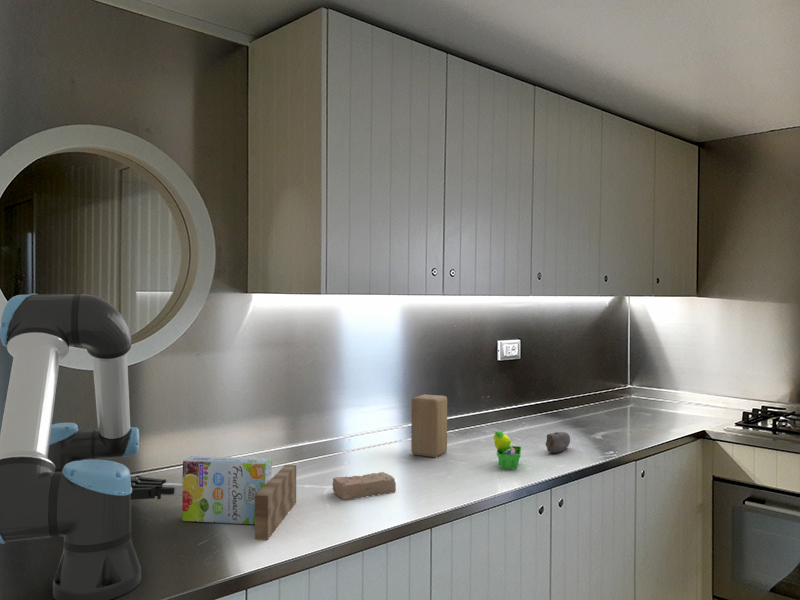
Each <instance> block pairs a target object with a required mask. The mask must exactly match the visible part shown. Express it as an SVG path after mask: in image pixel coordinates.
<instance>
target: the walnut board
mask: <svg viewBox="0 0 800 600" xmlns="http://www.w3.org/2000/svg"><path fill="white" fill-rule="evenodd" d="M295 503H296V504H297V465H295V464H294V465H293V464H292V465H291V464H285V465H284V466H283V467H282V468H280V470H279V471H277V472H276V474H275V475H274V476H272V477H271V480H270V481H269V482H268V483H267V484H266V485H265V486H264V487H263V488H262V489H261V490H260V491H259V492H258V493H257V494H256V495H255V525H254V540H255V539H266V540H265V541H268V540H269V539H270V538H271V537H272V535H273V534H274V532H275V531H276V530H277V529H278V528H279V526H280V525H281V524H282V522H283V521H284V520H285V518H286V517H285V516H287V515H288V514H289V513H290V511H291V510H292V509H293V507H294V506H295V505H296V504H295ZM288 512H289V513H288ZM282 520H283V521H282ZM279 524H280V525H279ZM276 528H277V529H276ZM272 533H273V534H272ZM269 537H270V538H269Z"/></svg>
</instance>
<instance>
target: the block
mask: <svg viewBox="0 0 800 600" xmlns="http://www.w3.org/2000/svg"><path fill="white" fill-rule="evenodd" d="M410 421H411V426H410V428H411V429H410V430H411V435H410V437H411V442H410V443H411V450H410V451H411V452H410V453H411V455H414V456H419V457H420V456H421V457H428V458H438V457H439V456H441V455H443V454H445V453H447V451H448V397H447V396H446V395H437V394H425V393H424V394H421V395H418V396H415V397H412V398H411V420H410Z"/></svg>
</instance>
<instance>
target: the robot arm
mask: <svg viewBox="0 0 800 600" xmlns="http://www.w3.org/2000/svg"><path fill="white" fill-rule="evenodd" d="M0 323H1V324H0V343H1V344H2V346H3V347H5V348H6V349H7V352H8V354H10V356H11V357H13V359H12V365H11V369H10V376H9V381H8V382H9V383H8V387H7V394H6V400H5V404H4V410H3V411H4V412H3V417H2V423H1V426H0V427H1V428H0V544H2V545H5V544H7V543H13V542H14V543H15V542H22V541H23V542H24V541H30V540H39V539H47V538H56V537H58V538H59V537H63V551H62V554H61V557H60V560H59V563H58V566H57V569H56V572H55V574H54V578H53V581H52V596H53V598H54V599H55V600H113V599H116V598H118V597H121V596H123V595H125V594H128V593H130V592H131V591H132V590H134V589H135V588H136V587H138V586H139V584H140V583H141V580H142V567H141V563H140V561H139V559H138V555H137V552H136V550H135V546H134V544H133V542H132V500H133V501H134V500H149V499H151V500H152V499H157V500H161V499H162V496H166V497H169V496H170V497H182V492H183V482H182V483H176V482H167V480H166V478H164V479H159V478H152V477H144V476H142V475H141V476H140V475H135V476H134V478H131V477H132V476H131V471H130V469H129V468H128V466H126V465H125V464H123V463H119V462H116V461H114V460H108V459H118V458H119V459H123V458H128V457H134V456H136V455H138V454H139V451H140V450H139V449H140V430H139V428H138V427H133V426H131V415H130V414H131V412H130V411H131V410H130V391H129V389H130V387H129V386H130V385H129V368H128V354H129V353H130V352H131V350H132V336H131V331H130V328H129V325H128V324H127V322H126V319H125V318H124V317H123V315H122V314H121V313H120V312H119V310H118V309H116V307H115V306H113V305H112V303H110V302H109V301H107V300H106V299H103V298H102V297H100V296H97V295H92V294H87V293H86V294H85V293H82V294H38V293H35V292H33V293H30V294H18V295H15V296H12V297H11V298H10V299H9V300H8V301H7V302H6V304H5V306H4V308H3V311H2V314H1V318H0ZM81 346H85V347H86V352H87V354H88V355H89V356H90V357H92V368H93V370H92V371H93V382H94V392H95V393H94V396H95V408H96V419H97V420H96V421H97V429H85V430H79V428H78V427H79V426H78V424H77V423H76V422H59V423H58V422H57V423H54V424H53V417H54V409H55V400H56V393H57V392H56V390H57V385H58V376H59V369H60V368H59V367H60V361H61V360H63V359H64V358H66V357H67V355H68V353H69V351H70V350H69V349H70V347H81ZM106 459H107V460H106Z"/></svg>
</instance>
